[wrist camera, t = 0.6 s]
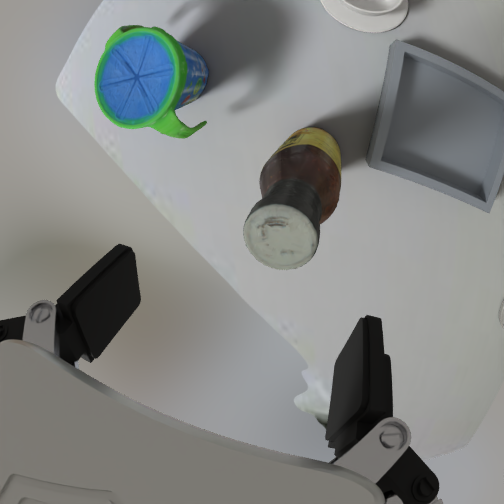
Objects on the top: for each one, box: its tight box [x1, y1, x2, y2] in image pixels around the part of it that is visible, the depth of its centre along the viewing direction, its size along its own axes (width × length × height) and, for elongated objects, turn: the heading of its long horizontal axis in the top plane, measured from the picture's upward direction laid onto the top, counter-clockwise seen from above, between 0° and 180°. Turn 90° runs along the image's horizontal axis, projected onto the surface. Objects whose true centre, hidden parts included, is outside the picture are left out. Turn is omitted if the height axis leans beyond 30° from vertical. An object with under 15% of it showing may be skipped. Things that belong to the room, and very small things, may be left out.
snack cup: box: [95, 25, 209, 138], centre depth 25 cm, size 16×10×10 cm
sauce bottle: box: [243, 127, 341, 270], centre depth 23 cm, size 6×6×20 cm
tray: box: [366, 40, 504, 213], centre depth 23 cm, size 16×14×4 cm
